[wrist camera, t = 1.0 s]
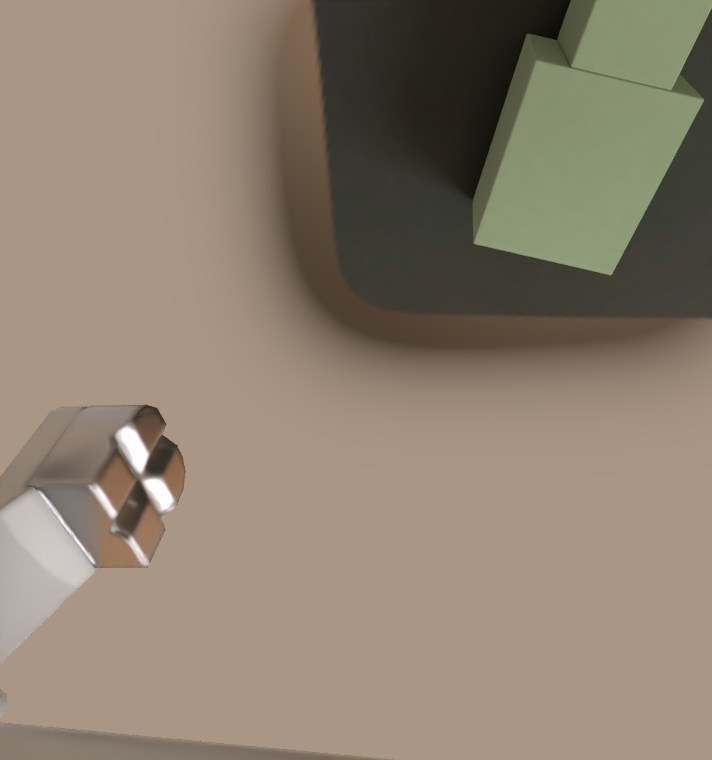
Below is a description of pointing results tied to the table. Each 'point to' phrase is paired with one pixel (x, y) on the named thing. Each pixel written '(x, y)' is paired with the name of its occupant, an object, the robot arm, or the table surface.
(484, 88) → the table surface
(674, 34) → the sage block
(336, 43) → the table surface
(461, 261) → the table surface
